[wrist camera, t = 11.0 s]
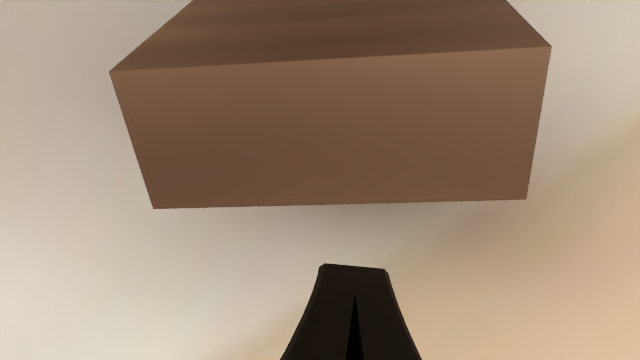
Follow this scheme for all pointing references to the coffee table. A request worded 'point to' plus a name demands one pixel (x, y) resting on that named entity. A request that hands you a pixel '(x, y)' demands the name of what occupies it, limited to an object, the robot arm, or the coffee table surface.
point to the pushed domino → (335, 102)
